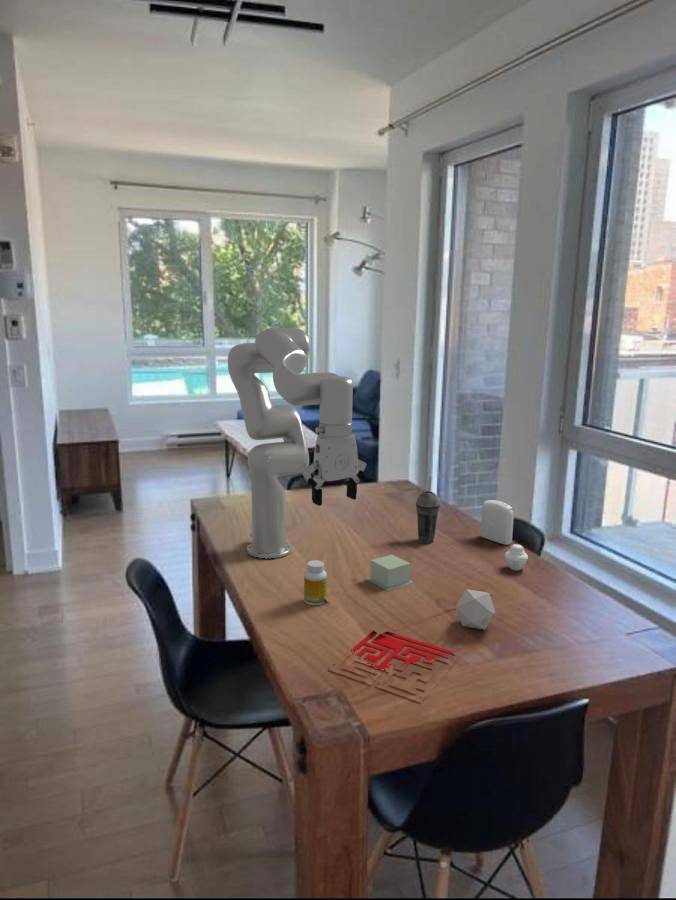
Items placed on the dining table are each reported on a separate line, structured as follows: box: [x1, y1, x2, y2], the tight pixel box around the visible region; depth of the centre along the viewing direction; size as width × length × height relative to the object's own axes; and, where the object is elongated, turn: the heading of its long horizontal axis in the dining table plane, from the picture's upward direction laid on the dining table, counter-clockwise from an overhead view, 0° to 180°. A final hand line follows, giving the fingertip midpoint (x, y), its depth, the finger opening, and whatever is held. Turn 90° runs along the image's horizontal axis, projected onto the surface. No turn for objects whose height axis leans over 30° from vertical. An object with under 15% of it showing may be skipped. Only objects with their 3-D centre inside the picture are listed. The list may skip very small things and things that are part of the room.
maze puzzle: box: [350, 630, 455, 674], centre depth 132 cm, size 20×20×1 cm
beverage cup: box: [415, 476, 441, 545], centre depth 197 cm, size 7×7×20 cm
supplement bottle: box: [303, 559, 328, 606], centre depth 157 cm, size 5×5×10 cm
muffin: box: [504, 543, 529, 571], centre depth 179 cm, size 6×6×7 cm
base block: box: [370, 554, 411, 588], centre depth 167 cm, size 7×7×5 cm
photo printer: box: [480, 499, 515, 546], centre depth 200 cm, size 10×4×12 cm, turn 39°
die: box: [455, 588, 496, 631], centre depth 147 cm, size 8×9×10 cm
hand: (334, 501), depth 155 cm, fingers open, 9 cm apart
